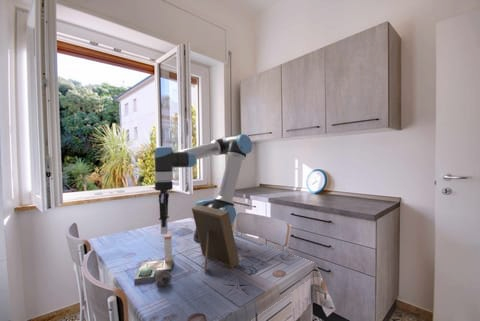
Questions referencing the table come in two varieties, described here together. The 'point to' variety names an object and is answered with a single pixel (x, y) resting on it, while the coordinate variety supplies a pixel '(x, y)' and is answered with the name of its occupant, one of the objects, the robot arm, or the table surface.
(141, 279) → the button housing
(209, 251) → the photo frame
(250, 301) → the table surface
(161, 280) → the stone
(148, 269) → the button
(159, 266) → the cream rectangular board
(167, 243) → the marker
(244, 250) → the table surface
